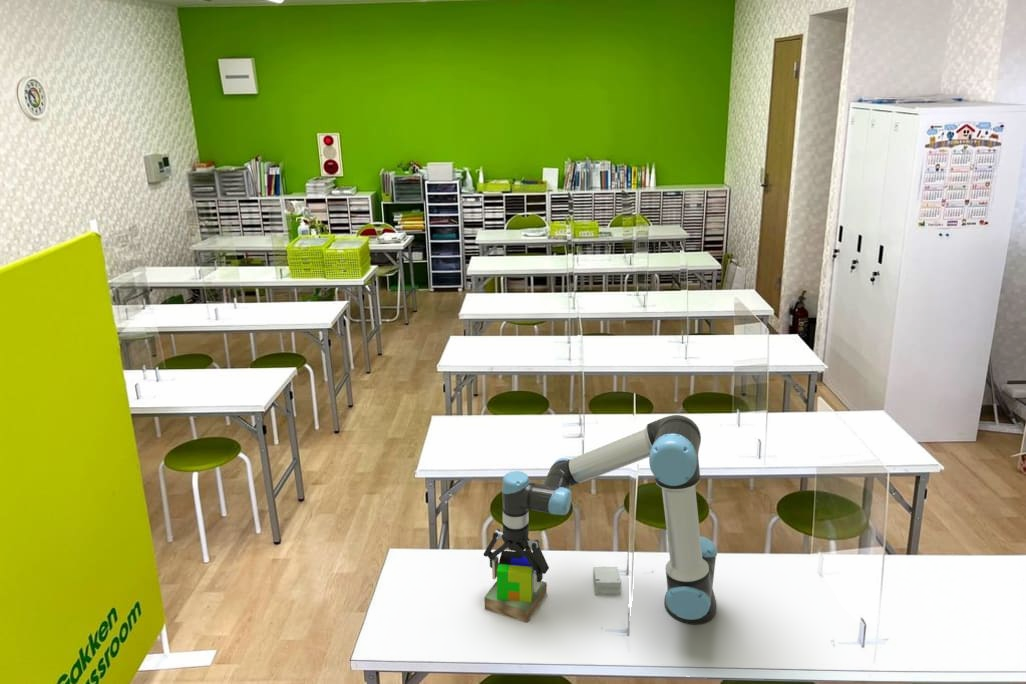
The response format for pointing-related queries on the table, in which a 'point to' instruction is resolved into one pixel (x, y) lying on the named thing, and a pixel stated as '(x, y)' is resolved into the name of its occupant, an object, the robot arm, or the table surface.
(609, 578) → the small box
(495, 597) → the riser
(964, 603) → the table surface
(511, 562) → the puzzle toy
